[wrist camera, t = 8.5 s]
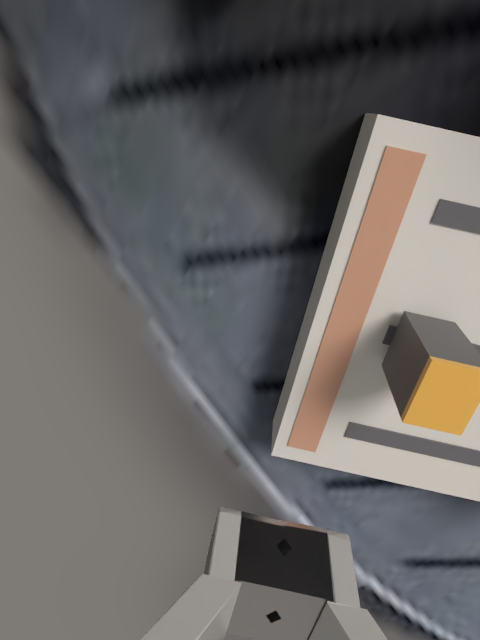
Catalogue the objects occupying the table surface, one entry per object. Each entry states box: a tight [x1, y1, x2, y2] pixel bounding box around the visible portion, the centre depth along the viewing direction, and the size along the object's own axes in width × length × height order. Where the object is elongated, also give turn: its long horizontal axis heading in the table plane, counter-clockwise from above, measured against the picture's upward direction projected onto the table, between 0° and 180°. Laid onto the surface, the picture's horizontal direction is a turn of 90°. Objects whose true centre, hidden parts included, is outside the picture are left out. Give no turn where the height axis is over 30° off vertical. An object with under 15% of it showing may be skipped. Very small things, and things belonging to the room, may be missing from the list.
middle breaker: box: [382, 311, 480, 436], centre depth 19 cm, size 3×2×4 cm
